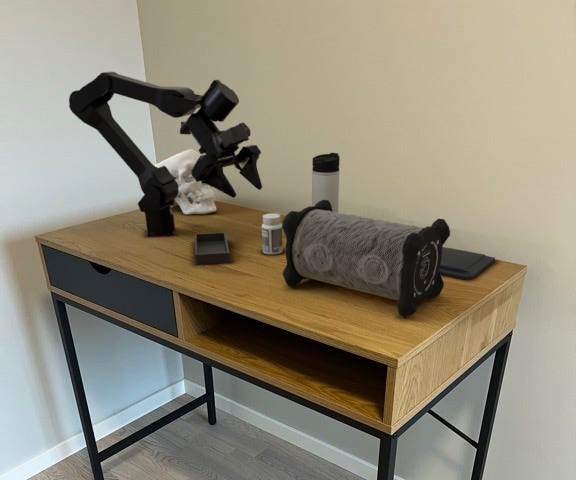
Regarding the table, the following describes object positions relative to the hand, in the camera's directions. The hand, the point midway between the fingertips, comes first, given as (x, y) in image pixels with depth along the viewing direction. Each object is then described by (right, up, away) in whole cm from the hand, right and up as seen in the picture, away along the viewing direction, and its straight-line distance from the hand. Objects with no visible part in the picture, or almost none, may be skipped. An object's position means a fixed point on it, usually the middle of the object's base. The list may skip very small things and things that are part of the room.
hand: (248, 192), depth 135 cm
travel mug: (+18, -9, +9) cm, 22 cm away
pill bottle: (+5, -13, +3) cm, 14 cm away
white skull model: (-21, +7, +38) cm, 44 cm away
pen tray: (-9, -13, +3) cm, 16 cm away
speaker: (+23, -26, -19) cm, 40 cm away
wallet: (+42, -17, -4) cm, 46 cm away
